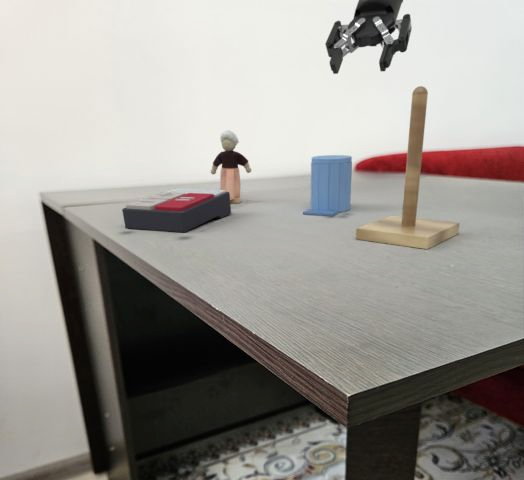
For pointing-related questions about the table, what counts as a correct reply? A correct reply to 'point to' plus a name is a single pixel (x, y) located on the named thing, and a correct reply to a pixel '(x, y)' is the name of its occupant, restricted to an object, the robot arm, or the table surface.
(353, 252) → the table surface
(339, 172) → the blue ribbed waste bin
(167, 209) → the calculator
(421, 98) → the hat stand
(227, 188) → the grandmother figurine
